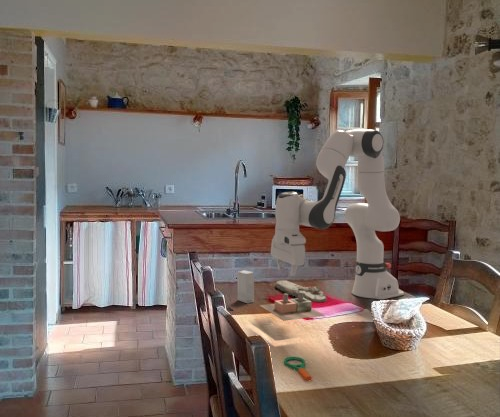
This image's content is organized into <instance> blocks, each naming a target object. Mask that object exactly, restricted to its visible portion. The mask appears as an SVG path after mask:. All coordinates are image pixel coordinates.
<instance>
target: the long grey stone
mask: <svg viewBox="0 0 500 417" xmlns="http://www.w3.org/2000/svg"><path fill="white" fill-rule="evenodd" d="M274 287H275V288H277V290H280V291H281V292H283V293H284V294H288V296H291V295H292V296H291V297H294V296H295V299H296V298H298V292H303V298H305V299H307V300H309V301H311V302H314V303H326V302H327V297H328V296H327V295H326V294H325V293H324V292H323V291H322V290H320V287H319V286H308V287H307V286H303V285H300V284H297V283H294V282H291V281H289V280H285V279H283V280H278V281H275V283H274Z"/></svg>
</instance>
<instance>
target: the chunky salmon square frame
mask: <svg viewBox="0 0 500 417" xmlns="http://www.w3.org/2000/svg"><path fill="white" fill-rule="evenodd" d="M274 304H275V309H276V310H278V311H280V312H281V313H286V312H294V311H296V305H297V303H295V302H293V301H291V300H290V298H288V303H286V304H283V299H280V300H279V299H278V300H274Z"/></svg>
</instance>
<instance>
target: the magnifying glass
mask: <svg viewBox="0 0 500 417" xmlns="http://www.w3.org/2000/svg"><path fill="white" fill-rule="evenodd" d="M290 361H297V362H300V364H299V363H298V364H293V363H289V362H290ZM283 364H284V366H286V367H287V366H288V368H289V369H291V370H294V369H295V370H294V371H296V372H298V373H299V375H300V376H301V377H302V378H303V379H304V381H306V382H310V381H309V380H311V381H312V378H313V377H312V376H311V375H310V374H309V372H308V371H307V370H306V369H305V366H306V361H305V359H303V358H302V357H298V356H286V357H285V358H284V359H283Z"/></svg>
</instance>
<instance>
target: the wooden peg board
mask: <svg viewBox="0 0 500 417" xmlns="http://www.w3.org/2000/svg"><path fill="white" fill-rule="evenodd" d="M282 295H283V296H282V300H283V304H286V303H288V299H289V300H291V301H293V302H295V303H297V305H296V311H294V312H286V313H281V312H280V311H278V310H276V309H275V303H268V304H260V305H259V307H261V308H263V309H265V310H266V311H267V312H270V313H271V314H273V315H274V316H275V317H276V318H278V319H280V320H282V322H283V321H292V320H297V319H307V318H316V317H321V316H325V314H324V313H322V312H320V311H318V310H316V309H314V308H313V307H312V302H313V301H310V300H307V299H305V298H303V292H298V298H296V297H295V298H289V294H287V293H283V294H282Z"/></svg>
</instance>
